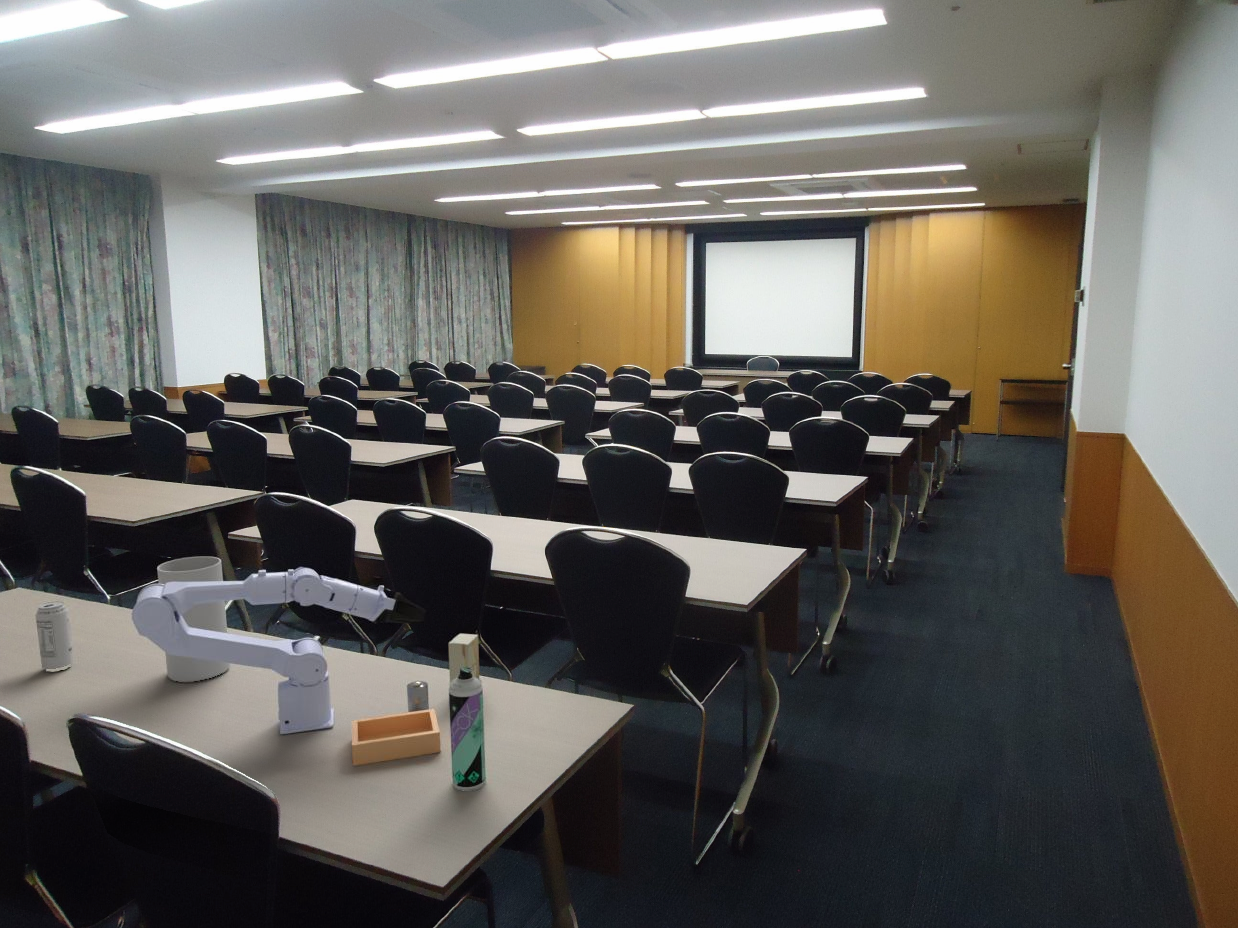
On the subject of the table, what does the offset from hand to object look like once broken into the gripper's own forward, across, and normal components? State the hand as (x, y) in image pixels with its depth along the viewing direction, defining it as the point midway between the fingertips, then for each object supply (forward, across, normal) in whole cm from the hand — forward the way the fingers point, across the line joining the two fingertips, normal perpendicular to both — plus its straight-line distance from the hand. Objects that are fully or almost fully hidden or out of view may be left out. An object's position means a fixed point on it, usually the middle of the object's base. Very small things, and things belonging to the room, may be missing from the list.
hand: (418, 617), depth 167 cm
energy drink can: (-58, +66, +23) cm, 91 cm away
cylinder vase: (-31, +46, +18) cm, 59 cm away
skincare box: (+16, +4, +12) cm, 20 cm away
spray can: (+8, -26, +28) cm, 39 cm away
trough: (0, -8, +24) cm, 26 cm away
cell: (+6, +1, +18) cm, 19 cm away
